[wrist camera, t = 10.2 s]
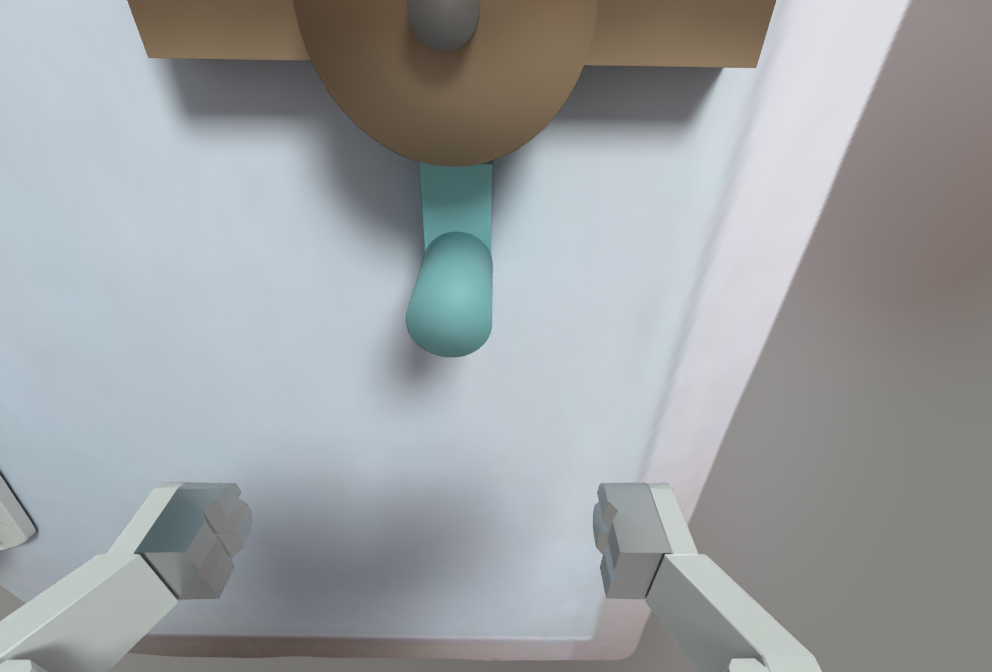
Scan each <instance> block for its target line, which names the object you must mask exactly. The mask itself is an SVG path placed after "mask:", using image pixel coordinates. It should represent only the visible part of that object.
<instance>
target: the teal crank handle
mask: <svg viewBox="0 0 992 672" xmlns="http://www.w3.org/2000/svg"><path fill="white" fill-rule="evenodd" d="M419 170H420V185H421V200H422V214H423V229H424V244H425V254H424V258H423V261H422V264H421V267H420V271H419V274H418V277H417V280H416V284H415V287H414V290H413V293H412V297H411V300H410V303H409V306H408V310H407V313H406V325H407V329H408V332H409V334H410V336H411V337H412V339H413V340H414V341H415V342H416V343H417V344H418V345H419V346H420V347H421V348H423V349H424V350H426V351H428V352H430V353H432V354H435V355H438V356H443V357H460V356H465V355H468V354H470V353H472V352H474V351H476V350H478V349H479V348H480V347H481V346H482V345H483V344H484V343H485V342H486V341H487V339H488V337H489V335H490V333H491V329H492V274H493V263H492V257H491V219H492V175H493V160H492V161H489V162H486V163H481V164H476V165H471V166H458V167H448V166H436V165H431V164H427V163H422V162H419Z"/></svg>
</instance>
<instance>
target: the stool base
mask: <svg viewBox="0 0 992 672" xmlns="http://www.w3.org/2000/svg"><path fill="white" fill-rule="evenodd" d="M127 1H128V3H129V6H130V9H131V12H132V14H133V17H134V20H135V23H136V25H137V28H138V31H139V33H140V36H141V39H142V42H143V44H144V47H145V50H146V53H147V55H148V58H182V59H243V60H303V61H312V63H313V65H314V67H315V69H316V72H317V74H318V75H319V77H320V79H321V80H322V82H323V84H324V85H325V87H326V89H327V90H328V92H329V93H330V95H331V96H332V97H333V99H334V100H335V101H336V103H337V104H338V105H339V107H340V108H341V109H342V110H343V112H344V113H345V114H346V115H347V116H348V117H349V118H350V119H351V120H352V121H353V122H354V123H355V124H356V125H357V126H358V127H359V128H360V129H362V130H363V131H364V132H365V133H366V134H367V135H369V136H370V137H371V138H373V139H374V140H376V141H377V142H379V143H380V144H382V145H383V146H385V147H386V148H388V149H390V150H392V151H394V152H396V153H398V154H400V155H402V156H404V157H407V158H410V159H412V160H415V161H418V162H422V163H427V164H431V165H436V166H448V167H458V166H471V165H476V164H481V163H486V162H489V161H492V160H495V159H498V158H501V157H503V156H505V155H507V154H509V153H511V152H513V151H515V150H517V149H518V148H520V147H521V146H523V145H524V144H526V143H527V142H529V141H530V140H531V139H532V138H534V137H535V136H536V135H537V134H538V133H539V132H540V131H542V130H543V129H544V128H545V127H546V126H547V125H548V123H549V122H550V121H551V120H552V119H553V118H554V117H555V116H556V114H557V113H558V112H559V110H560V109H561V107H562V106H563V105H564V103H565V102H566V100H567V99H568V97H569V96H570V94H571V92H572V90H573V88H574V86H575V84H576V83H577V81H578V79H579V76H580V74H581V71H582V69H583V66H584V65H606V66H667V67H727V68H756V66H757V63H758V60H759V56H760V53H761V50H762V46H763V43H764V40H765V36H766V33H767V30H768V26H769V23H770V19H771V16H772V13H773V9H774V6H775V3H776V0H127Z"/></svg>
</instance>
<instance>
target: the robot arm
mask: <svg viewBox="0 0 992 672" xmlns="http://www.w3.org/2000/svg"><path fill="white" fill-rule="evenodd" d="M240 494H241V491H240V489H239V487H238V486H237V484H236V483H193V482H163V483H161V484H160V485H158V486H157V487H155V488H154V489H153V491H152V492H151V493H150V495H149V496H148V497H147V499H146V500H145V501H144V503H143V504H142V506H141V507H140V508H139V510H138V511H137V512H136V514H135V515H134V516H133V518H132V519H131V520H130V522H129V523H128V525H127V526H126V527H125V529H124V530H123V531H122V533H121V534H120V535H119V537H118V538H117V539H116V541H115V542H114V543H113V545H112V546H111V548H110V549H109V550H108V552H107V553H106V554H98V555H96V556H95V557H94V558H92V559H91V560H89V561H88V562H86V563H85V564H83V565H82V566H80V567H79V568H77V569H76V570H75V571H73V572H72V573H70V574H69V575H67V576H66V577H64V578H63V579H61V580H60V581H58V582H57V583H55V584H54V585H53V586H51V587H50V588H48V589H47V590H45V591H44V592H42V593H41V594H39V595H38V596H36V597H35V598H34V599H32V600H31V601H29V602H28V603H26V604H25V605H23V606H22V607H21V608H19V609H18V610H16V611H15V612H13V613H12V614H10V615H9V616H7V617H6V618H4V619H3V620H1V621H0V672H107V671H109V670H110V669H111V668H112V667H113V666H114V665H115V664H116V663H117V662H118V661H119V660H120V659H121V658H122V657H123V656H124V655H125V654H126V653H127V652H128V651H129V650H130V649H131V648H132V647H133V646H134V645H135V644H136V643H137V642H138V641H139V640H140V639H141V638H142V637H143V636H144V635H145V634H146V633H148V632H149V631H150V630H151V629H152V628H153V627H154V626H155V625H156V624H157V623H158V622H159V621H160V620H161V619H162V618H163V617H164V616H165V615H166V614H167V613H168V612H169V611H170V610H171V609H172V608H173V607H174V606H175V605H176V604H177V603H178V602H179V601H178V600H180V599H215V598H219V597H220V595H221V593H222V591H223V589H224V587H225V585H226V583H227V581H228V579H229V577H230V575H231V573H232V570H233V568H234V564H233V560H232V556H234V555H235V554H236V553H237V552H238V551H240V550H241V549H242V548H243V547H244V545H245V543H246V541H247V539H248V536H249V534H250V529H251V524H252V515H251V510H250V508H249V506H248V504H246V503H244V502H243V501H241V500H240V499H238V498H239V496H240ZM597 494H598V499H599V502H598V503H597V504H595V506H594V511H593V532H594V539H595V544H596V548H597V549H598V550H599V551H600V552H601V553H602V554H603V557H602V561H601V565H600V570H601V575H602V580H603V585H604V590H605V594H606V598H617V599H646V601H645V602H646V603H647V604H648V606H649V607H650V608H651V610H652V611H653V612H654V614H655V615H656V616H657V617H658V619H659V620H660V621H661V623H662V624H663V625H664V627H665V628H666V629H667V631H668V632H669V633H670V635H671V636H672V637H673V639H674V640H675V641H676V643H677V644H678V645H679V647H680V648H681V649H682V651H683V652H684V653H685V655H686V656H687V657H688V658H689V660H690V661H691V662H692V664H693V665H694V666H695V668H696V669H697V670H698V672H822V671H821V669H820V667H819V665H818V663H817V661H816V659H815V657H814V656H813V655H812V654H811V653H810V652H809V651H808V650H807V649H806V648H804V647H803V646H802V645H801V644H800V643H799V642H798V641H797V640H796V639H795V638H794V637H793V636H792V635H791V634H790V633H788V632H787V631H786V630H785V629H784V628H783V627H782V626H781V625H780V624H779V623H778V622H777V621H775V619H773V617H772V616H770V615H769V614H768V613H767V612H766V611H765V610H764V609H763V608H762V607H761V606H760V605H759V604H758V603H757V602H756V601H755V600H753V599H752V598H751V597H750V596H749V595H748V594H747V593H746V592H745V591H744V590H743V589H742V588H741V587H740V586H738V585H737V584H736V583H735V582H734V581H733V580H732V579H731V578H730V577H729V576H728V575H727V574H726V573H725V572H723V570H722V569H721V568H719V567H718V566H717V565H716V564H715V563H714V562H713V561H712V560H711V559H710V558H709V557H708V556H707V555H706V554H698V552H697V549H696V547H695V544H694V542H693V539H692V537H691V534H690V531H689V529H688V526H687V524H686V521H685V519H684V516H683V514H682V511H681V509H680V506H679V503H678V501H677V498H676V496H675V493H674V491H673V488H672V487H671V486H670V485H669V484H668V483H644V482H643V483H601V484H600V485H599V488H598V492H597ZM35 532H36V530H35V527H34V526H33V524H32V523H31V521H30V519H29V518H28V516H27V515H26V513H25V512H24V510H23V509H22V507H21V506H20V504H19V503H18V501H17V500H16V498H15V497H14V495H13V494H12V492H11V491H10V489H9V488H8V486H7V484H6V483H5V481H4V480H3V478H2V477H1V475H0V550H5V549H9V548H13V547H16V546H18V545H20V544H22V543H24V542H26V541H27V540H28V539H29V538H30V537H31V536H32V535H33V534H34V533H35Z"/></svg>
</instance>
